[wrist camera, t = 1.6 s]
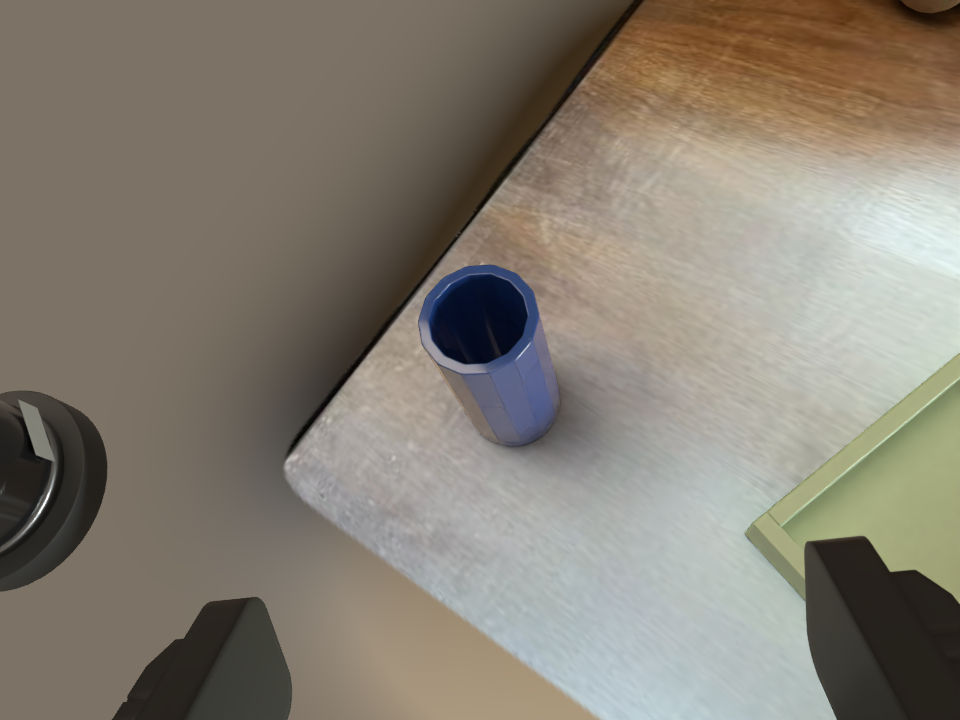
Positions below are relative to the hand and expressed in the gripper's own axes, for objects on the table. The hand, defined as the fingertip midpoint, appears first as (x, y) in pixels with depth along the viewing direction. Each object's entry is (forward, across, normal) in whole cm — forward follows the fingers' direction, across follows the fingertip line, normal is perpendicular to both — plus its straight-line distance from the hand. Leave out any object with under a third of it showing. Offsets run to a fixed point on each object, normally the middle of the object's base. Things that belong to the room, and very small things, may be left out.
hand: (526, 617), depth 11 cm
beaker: (+26, +3, +8) cm, 27 cm away
